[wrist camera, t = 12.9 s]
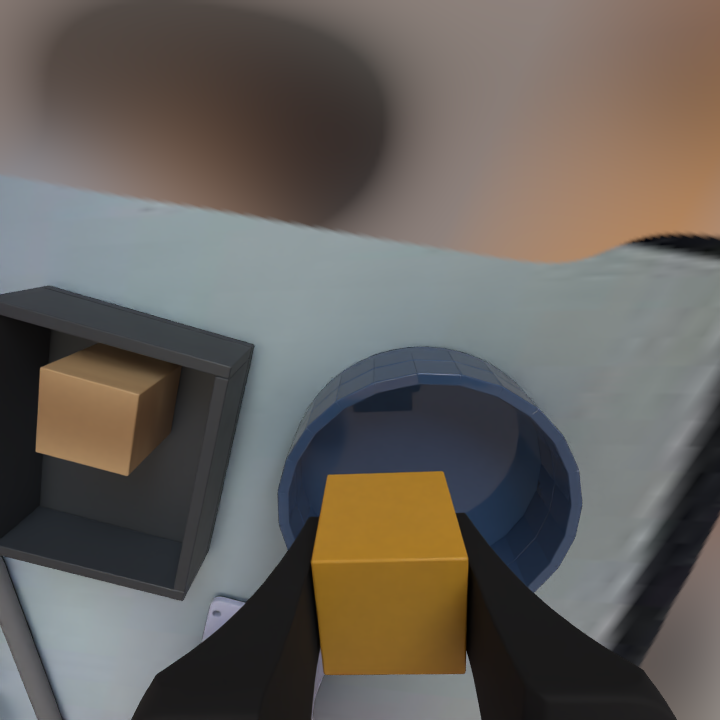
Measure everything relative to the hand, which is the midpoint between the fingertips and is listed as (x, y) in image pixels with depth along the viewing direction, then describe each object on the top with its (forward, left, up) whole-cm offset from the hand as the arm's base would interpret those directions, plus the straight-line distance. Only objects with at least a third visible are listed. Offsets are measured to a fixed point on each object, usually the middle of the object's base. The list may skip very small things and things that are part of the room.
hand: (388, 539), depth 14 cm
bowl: (-2, -2, -8) cm, 9 cm away
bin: (-4, +13, -8) cm, 16 cm away
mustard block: (0, 0, -1) cm, 1 cm away
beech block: (-1, +13, -8) cm, 15 cm away
